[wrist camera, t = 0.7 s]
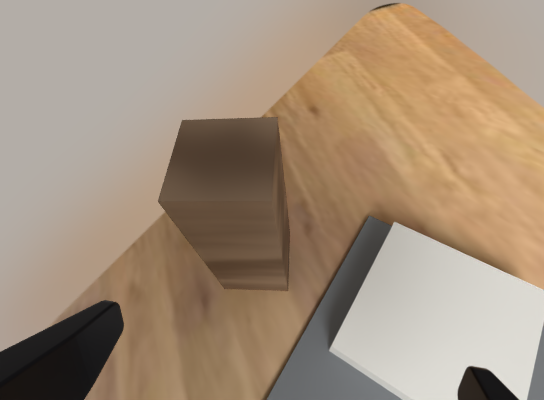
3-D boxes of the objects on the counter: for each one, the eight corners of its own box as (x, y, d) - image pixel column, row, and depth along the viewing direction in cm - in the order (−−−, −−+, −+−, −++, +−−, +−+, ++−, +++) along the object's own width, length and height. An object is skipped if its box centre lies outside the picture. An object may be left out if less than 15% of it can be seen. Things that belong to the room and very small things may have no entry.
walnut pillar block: (288, 290, 24) (271, 201, 13) (224, 288, 24) (157, 201, 14) (289, 232, 27) (277, 117, 16) (232, 231, 27) (182, 120, 16)
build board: (479, 711, 13) (515, 778, 11) (226, 471, 18) (215, 482, 16) (559, 307, 21) (590, 296, 19) (368, 217, 27) (374, 200, 24)
